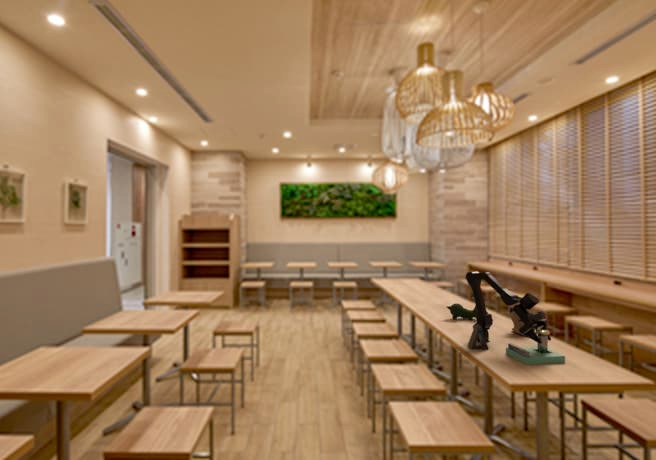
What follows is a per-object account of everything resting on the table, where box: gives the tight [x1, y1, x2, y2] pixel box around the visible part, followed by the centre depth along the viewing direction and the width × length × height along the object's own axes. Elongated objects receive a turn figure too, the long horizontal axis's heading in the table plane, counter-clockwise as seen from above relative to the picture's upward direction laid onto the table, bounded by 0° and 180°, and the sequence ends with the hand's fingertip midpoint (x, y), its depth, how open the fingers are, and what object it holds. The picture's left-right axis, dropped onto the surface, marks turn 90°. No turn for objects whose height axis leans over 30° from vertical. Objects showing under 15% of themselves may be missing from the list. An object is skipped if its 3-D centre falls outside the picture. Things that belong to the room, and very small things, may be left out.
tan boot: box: [509, 312, 538, 336], centre depth 232 cm, size 15×12×15 cm
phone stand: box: [467, 323, 490, 351], centre depth 205 cm, size 9×6×12 cm, turn 88°
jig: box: [505, 343, 566, 365], centre depth 189 cm, size 20×16×5 cm
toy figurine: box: [445, 294, 477, 321], centre depth 270 cm, size 9×19×25 cm
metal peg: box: [535, 329, 551, 354], centre depth 189 cm, size 6×6×13 cm
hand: (545, 341), depth 188 cm, fingers open, 9 cm apart
